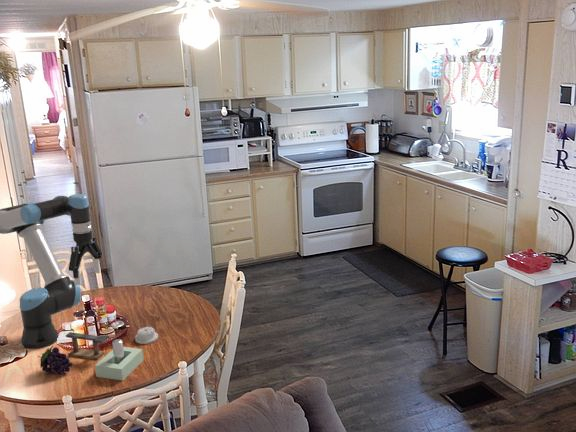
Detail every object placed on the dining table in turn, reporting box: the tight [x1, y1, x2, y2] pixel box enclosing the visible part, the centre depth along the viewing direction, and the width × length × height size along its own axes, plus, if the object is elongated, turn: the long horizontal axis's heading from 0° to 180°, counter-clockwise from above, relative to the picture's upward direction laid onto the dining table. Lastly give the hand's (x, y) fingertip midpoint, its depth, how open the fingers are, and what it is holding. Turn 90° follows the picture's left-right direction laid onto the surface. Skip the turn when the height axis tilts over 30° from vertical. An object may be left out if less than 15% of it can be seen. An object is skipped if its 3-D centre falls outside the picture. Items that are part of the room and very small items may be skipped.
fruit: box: [37, 345, 73, 375], centre depth 226 cm, size 10×11×15 cm
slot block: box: [94, 346, 145, 381], centre depth 227 cm, size 12×16×5 cm
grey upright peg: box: [111, 338, 125, 364], centre depth 226 cm, size 4×4×12 cm
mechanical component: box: [134, 326, 159, 345], centre depth 251 cm, size 10×4×10 cm
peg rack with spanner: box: [65, 331, 110, 361], centre depth 237 cm, size 18×5×9 cm, turn 74°
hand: (88, 278), depth 240 cm, fingers open, 13 cm apart
